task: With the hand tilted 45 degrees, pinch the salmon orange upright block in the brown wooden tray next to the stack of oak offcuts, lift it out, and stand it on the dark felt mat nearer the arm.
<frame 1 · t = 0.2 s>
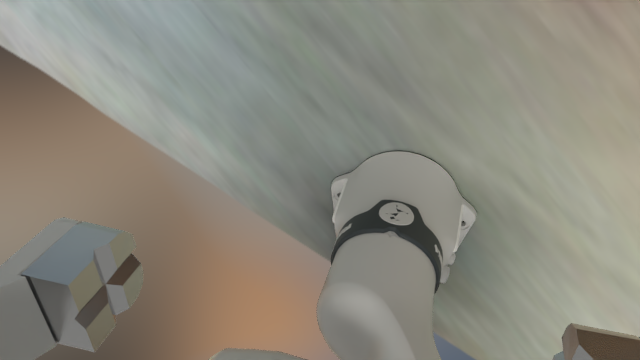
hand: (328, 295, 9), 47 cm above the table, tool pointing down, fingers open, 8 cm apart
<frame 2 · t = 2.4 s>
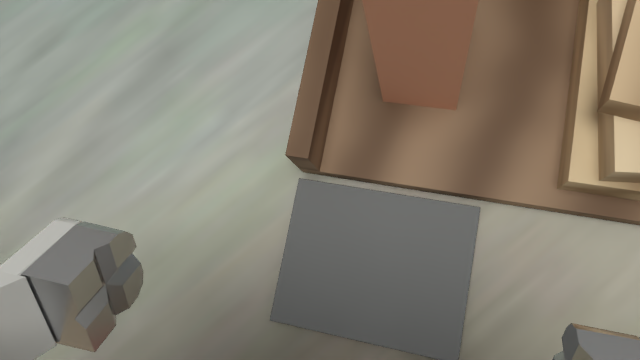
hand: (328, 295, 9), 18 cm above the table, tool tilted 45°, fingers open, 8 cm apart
felt mat: (374, 265, 27), on the table
brown wooden tray: (506, 87, 28), on the table
salmon orange upright block: (426, 63, 28), point 1 cm above the table, touching brown wooden tray
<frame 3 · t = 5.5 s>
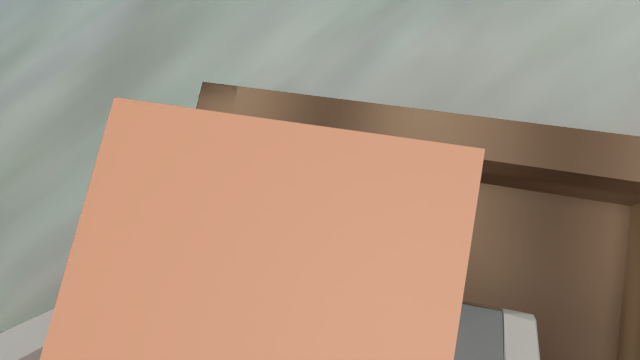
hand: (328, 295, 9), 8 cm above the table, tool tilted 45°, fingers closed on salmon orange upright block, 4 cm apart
brown wooden tray: (501, 354, 16), on the table
salmon orange upright block: (364, 310, 16), point 1 cm above the table, touching gripper, brown wooden tray
when the fingers open (9 cm above the table, at t = 10.8 s): salmon orange upright block drops 1 cm, resting on felt mat.
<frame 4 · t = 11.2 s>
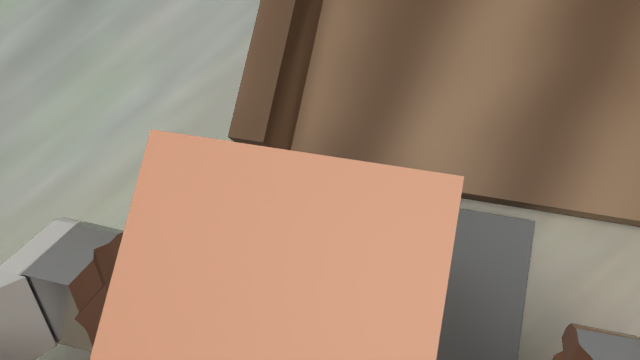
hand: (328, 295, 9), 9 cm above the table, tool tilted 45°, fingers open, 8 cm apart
felt mat: (369, 308, 18), on the table
brown wooden tray: (569, 39, 18), on the table
salmon orange upright block: (364, 310, 17), point 1 cm above the table, touching felt mat
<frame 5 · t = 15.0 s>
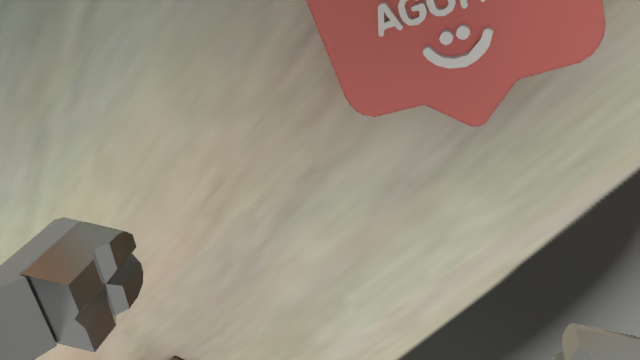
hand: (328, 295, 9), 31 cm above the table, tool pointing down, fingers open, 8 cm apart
plaque: (453, 16, 36), on the table
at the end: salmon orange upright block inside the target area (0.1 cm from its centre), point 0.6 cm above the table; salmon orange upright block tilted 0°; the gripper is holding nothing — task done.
